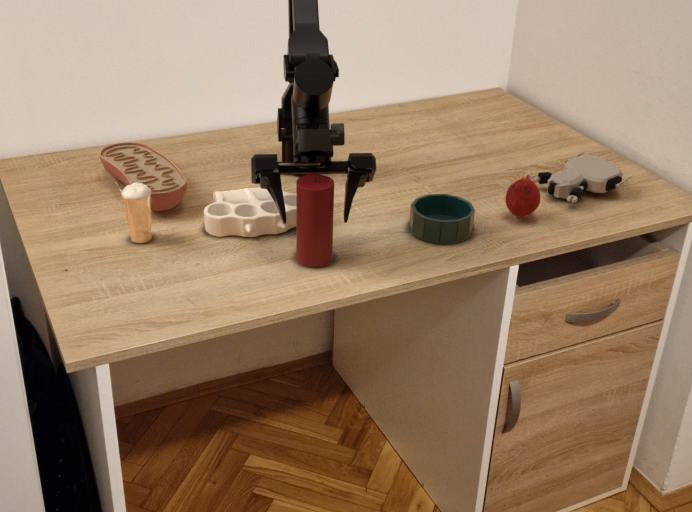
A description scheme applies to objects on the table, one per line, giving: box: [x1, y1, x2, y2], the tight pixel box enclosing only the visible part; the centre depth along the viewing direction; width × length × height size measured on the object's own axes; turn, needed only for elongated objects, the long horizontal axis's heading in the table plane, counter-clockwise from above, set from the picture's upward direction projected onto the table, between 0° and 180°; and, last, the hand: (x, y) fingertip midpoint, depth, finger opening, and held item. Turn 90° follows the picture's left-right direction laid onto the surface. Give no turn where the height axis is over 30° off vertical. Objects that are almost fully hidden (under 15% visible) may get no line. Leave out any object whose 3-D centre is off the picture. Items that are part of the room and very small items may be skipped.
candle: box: [295, 174, 335, 268], centre depth 142 cm, size 6×6×14 cm
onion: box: [504, 173, 541, 219], centre depth 157 cm, size 6×6×8 cm
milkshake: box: [114, 180, 153, 244], centre depth 146 cm, size 4×5×10 cm
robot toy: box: [530, 150, 634, 204], centre depth 168 cm, size 12×4×15 cm
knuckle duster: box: [203, 186, 296, 238], centre depth 155 cm, size 3×18×15 cm
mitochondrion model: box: [99, 141, 187, 212], centre depth 162 cm, size 23×10×5 cm, turn 33°
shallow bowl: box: [408, 193, 476, 245], centre depth 154 cm, size 10×10×4 cm
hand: (315, 222), depth 140 cm, fingers open, 9 cm apart
